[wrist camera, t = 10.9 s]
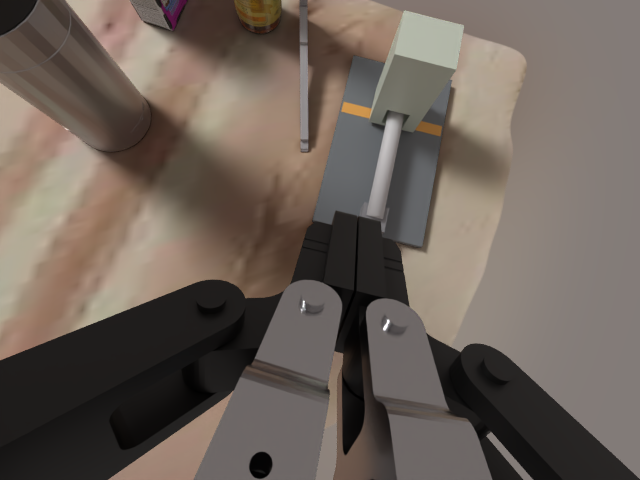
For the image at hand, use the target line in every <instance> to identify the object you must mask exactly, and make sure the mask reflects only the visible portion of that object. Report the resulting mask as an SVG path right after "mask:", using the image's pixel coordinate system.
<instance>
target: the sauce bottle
mask: <svg viewBox="0 0 640 480" xmlns="http://www.w3.org/2000/svg"><path fill="white" fill-rule="evenodd" d="M234 4H235V8H236V12H237V14H238V17H239V20H240V21H241V23H242V25H243V26H244V27H245V28H246V29H247V30H249V31H252V32H255V33H259V34H264V33H267V32H269V31H271V30H273V29H274V28H275V27H276V26H277V25H278V23H279V21H280V15H281V0H234Z"/></svg>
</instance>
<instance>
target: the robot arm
mask: <svg viewBox="0 0 640 480" xmlns="http://www.w3.org/2000/svg"><path fill="white" fill-rule="evenodd" d="M0 83H1V84H3V85H4V86H6V87H7V88H8V89H10V90H11V91H13V92H14V93H16V94H17V95H18V96H20V97H21V98H23V99H24V100H26V101H27V102H29V103H30V104H31V105H33V106H34V107H36V108H37V109H39V110H40V111H41V112H43V113H44V114H46V115H47V116H49V117H50V118H51V119H53V120H54V121H56V122H57V123H59V124H60V125H61V126H63V127H64V128H65V129H67V130H68V131H70V132H71V133H73V134H74V135H75V136H77V137H78V138H80V139H81V140H83V141H84V142H85V143H87V144H88V145H90V146H91V147H94V148H96V149H98V150H102V151H108V152H115V151H121V150H124V149H127V148H129V147H131V146H133V145H135V144H136V143H137V142H139V141H140V140H141V139H142V138H143V136H144V135H145V134H146V132H147V130H148V128H149V126H150V122H151V112H150V107H149V105H148V103H147V101H146V100H145V99H144V97H143V96H142V95H141V94H140V92H139V91H138V90H137V89H136V87H135V86H134V85H133V84H132V82H131V81H130V80H129V78H128V77H127V76H126V75H125V73H124V72H123V71H122V70H121V69H120V67H119V66H118V65H117V64H116V62H115V61H114V60H113V59H112V57H111V56H110V55H109V54H108V52H107V51H106V50H105V49H104V47H103V46H102V45H101V44H100V42H99V41H98V40H97V39H96V38H95V36H94V35H93V34H92V33H91V31H90V30H89V29H88V28H87V26H86V25H85V24H84V23H83V21H82V20H81V19H80V18H79V16H78V15H77V14H76V13H75V12H74V10H73V9H72V8H71V7H70V5H69V4H68V3H67V2H66V0H0ZM403 271H404V270H403V264H402V257H401V251H400V249H399V248H398V246H397V245H396V244H395V242H394V241H393V240H392V239H388V238H384V237H382V230H381V221H378V220H373V219H369V218H365V217H361V216H358V218H357V215H353V214H349V213H345V212H341V211H337V210H336V211H335V213H334V217H333V221H332V224H331V225H330V224H326V223H322V222H318V221H316V222H315V223H313V224H312V225H311V226H309V227H308V228H307V231H306V235H305V238H304V241H303V245H302V248H301V251H300V255H299V258H298V261H297V265H296V268H295V271H294V275H293V278H292V281H291V283H290V285H289V286H288V287H287V288H286V289H285V290H284V291H283V292H281V293H279V294H277V295H275V296H271V297H266V298H245V296H244V294H243V292H242V291H241V290H240V289H239V288H238V287H237V286H235V285H234V284H231V283H229V282H226V281H222V280H205V281H200V282H197V283H194V284H192V285H189V286H187V287H184V288H182V289H179V290H176V291H174V292H171V293H169V294H166V295H164V296H161V297H159V298H156V299H154V300H151V301H149V302H146V303H144V304H141V305H139V306H136V307H134V308H131V309H129V310H126V311H124V312H121V313H119V314H116V315H114V316H111V317H109V318H106V319H103V320H101V321H98V322H96V323H93V324H91V325H88V326H86V327H83V328H81V329H78V330H76V331H73V332H71V333H68V334H66V335H63V336H61V337H58V338H56V339H53V340H51V341H48V342H46V343H43V344H41V345H38V346H36V347H33V348H30V349H28V350H25V351H23V352H20V353H18V354H15V355H13V356H10V357H8V358H5V359H3V360H0V480H108V479H109V478H111V477H112V476H114V475H115V474H117V473H118V472H119V471H121V470H122V469H124V468H125V467H127V466H128V465H129V464H131V463H132V462H134V461H135V460H137V459H138V458H139V457H141V456H142V455H144V454H145V453H147V452H148V451H150V450H151V449H152V448H154V447H155V446H157V445H158V444H160V443H161V442H162V441H164V440H165V439H167V438H168V437H170V436H171V435H172V434H174V433H175V432H177V431H178V430H180V429H181V428H182V427H184V426H185V425H187V424H188V423H190V422H191V421H192V420H194V419H195V418H197V417H198V416H200V415H201V414H203V413H204V412H205V411H207V410H208V409H210V408H211V407H213V406H214V405H215V404H217V403H218V402H220V401H221V400H223V399H224V398H225V397H227V396H228V395H229V394H230V393H231V392H232V391H234V392H233V394H232V396H231V398H230V401H229V403H228V405H227V407H226V409H225V412H224V414H223V416H222V418H221V420H220V423H219V425H218V427H217V429H216V431H215V434H214V436H213V438H212V440H211V442H210V445H209V447H208V449H207V451H206V453H205V456H204V458H203V460H202V462H201V464H200V467H199V469H198V471H197V473H196V475H195V478H194V480H315V477H316V472H317V466H318V461H319V455H320V450H321V444H322V438H323V433H324V427H325V421H326V416H327V410H328V404H329V395H330V391H329V389H328V381H329V375H330V370H331V365H332V360H333V354H334V351H336V352H340V353H343V365H342V367H341V370H340V372H339V375H338V379H337V460H336V468H335V473H334V477H333V480H523V479H522V478H521V477H520V475H519V474H518V473H517V472H516V471H515V470H514V468H513V467H512V466H511V465H510V464H509V462H508V461H507V460H506V459H505V458H504V457H503V455H502V454H501V453H500V452H499V451H498V450H497V448H496V447H495V446H494V445H493V444H492V442H491V441H490V440H489V439H488V438H487V437H486V436H487V434H489V433H490V432H492V433H493V434H494V435H495V436H496V437H497V439H498V440H499V441H500V442H501V443H502V444H503V445H504V447H505V448H506V449H507V450H508V451H509V452H510V454H512V456H513V457H514V458H515V459H516V460H517V462H519V464H520V465H521V466H522V467H523V468H524V469H525V470H526V472H527V473H528V474H529V475H530V476H531V477H532V479H534V480H640V479H639V478H638V477H637V476H636V475H635V474H634V473H633V472H631V471H630V470H629V469H628V468H627V467H626V466H625V465H624V464H623V463H622V462H621V461H620V460H619V459H617V458H616V457H615V456H614V455H613V454H612V453H611V452H610V451H609V450H608V449H607V448H605V447H604V446H603V445H602V444H601V443H600V442H599V441H598V440H597V439H596V438H595V437H594V436H593V435H592V434H590V433H589V432H588V431H587V430H586V429H585V428H584V427H583V426H582V425H581V424H580V423H579V422H577V421H576V420H575V419H574V418H573V417H572V416H571V415H570V414H569V413H568V412H567V411H566V410H564V409H563V408H562V407H561V406H560V405H559V404H558V403H557V402H556V401H555V400H554V399H553V398H552V397H550V396H549V395H548V394H547V393H546V392H545V391H544V390H543V389H542V388H541V387H540V386H539V385H538V384H536V383H535V382H534V381H533V380H532V379H531V378H530V377H529V376H528V375H527V374H526V373H525V372H523V371H522V370H521V369H520V368H519V367H518V366H517V365H516V364H515V363H514V362H512V361H511V360H510V359H509V358H508V357H507V356H505V355H504V354H503V353H501V352H500V351H498V350H496V349H494V348H492V347H490V346H487V345H484V344H470V345H468V346H466V347H465V348H464V349H463V350H462V351H461V352H459V351H457V350H455V349H453V348H451V347H449V346H448V345H446V344H444V343H442V342H440V341H438V340H436V339H434V338H433V337H431V336H430V335H428V334H427V333H426V330H425V327H424V324H423V322H422V320H421V318H420V317H419V316H418V314H417V313H416V312H415V311H414V310H413V309H411V308H410V307H409V301H408V295H407V288H406V282H405V276H404V273H403Z"/></svg>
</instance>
